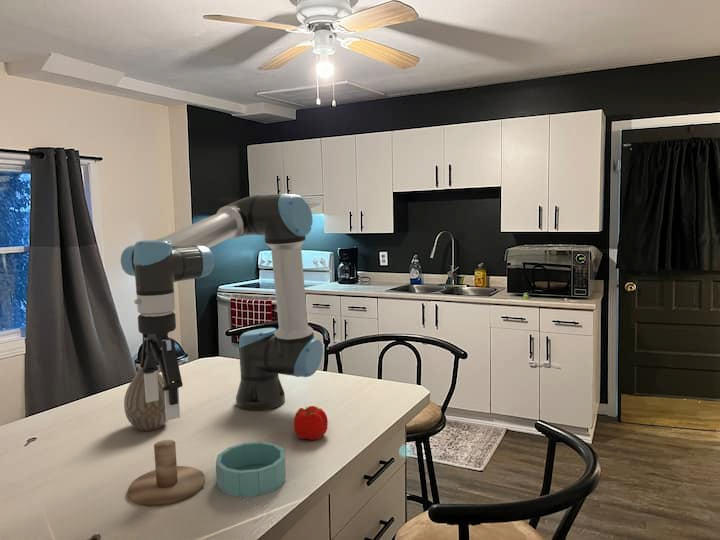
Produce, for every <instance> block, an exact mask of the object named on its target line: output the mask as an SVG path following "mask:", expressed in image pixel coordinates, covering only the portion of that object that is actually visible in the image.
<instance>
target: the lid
mask: <svg viewBox="0 0 720 540" xmlns="http://www.w3.org/2000/svg"><path fill="white" fill-rule="evenodd" d="M176 446H177V445H176V441H175V440H173V439H163V440H159V441H157V442H155V443H154V445H153V451H154V453H153V454H154V465H155V467H154V468H155V469H154V470H151V471H147V472H145V473H143V474H142V475H139V476H138V477H137V478H135V479H134V480H133V481H132V482H131V483H130V484H129V485H128V487H127V493H128V494H127V496H128V497H129V499H130V500H131V502H133V503H135V504H138V505H141V506H146V507H147V506H151V507H158V506H159V507H160V506H167V505H173V504H176V503H179V502H182V501H185V500H188V499H189V498H191V497H193V496H195V495H196V494H198V493H199V492H200V491H201V490H203V489H202V487H203V488H204V486H205V483H206V477H205V473H204V472H203V471H201V470H200V469H198V468H196V467H192V466H186V465H178V464H177V447H176Z"/></svg>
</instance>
